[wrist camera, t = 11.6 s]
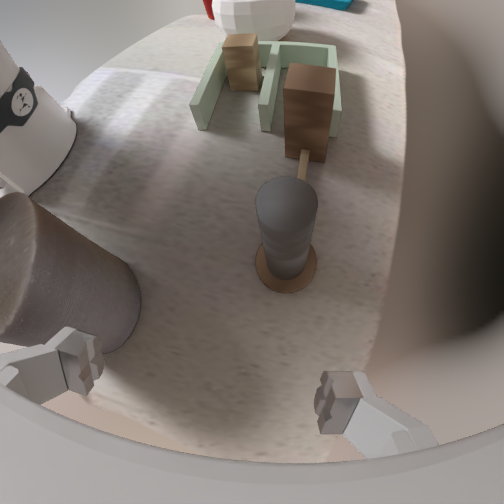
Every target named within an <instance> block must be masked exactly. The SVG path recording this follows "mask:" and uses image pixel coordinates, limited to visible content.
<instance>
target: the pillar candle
mask: <svg viewBox="0 0 504 504" xmlns="http://www.w3.org/2000/svg"><path fill="white" fill-rule="evenodd" d="M140 307H141V300H140V290H139V286H138V283H137V280H136V278H135V276H134V274H133V273H132V271H131V270H130V269H129V268H128V265H127V264H126V263H125V262H124V261H122V260H121V259H120V258H118V257H116V256H114V255H113V254H111V253H109V252H108V251H106V250H104V249H103V248H101V247H100V246H98V245H97V244H95V243H94V242H92V241H90V240H89V239H87V238H86V237H84V236H83V235H82V234H80V233H79V232H77V231H76V230H74V229H73V228H72V227H70V226H68V225H67V224H66V223H64V222H63V221H61V220H60V219H58V218H57V217H56V216H54V215H53V214H51V213H50V212H49V211H47V210H46V209H45V208H43V207H41V206H40V205H39V204H37V203H36V202H35V201H33V200H32V199H31V198H29V197H28V196H27V195H25V194H23V193H20V192H13V193H9V194H6V195H4V196H3V197H1V198H0V342H3V343H10V344H15V345H20V346H27V347H31V346H35V345H39V344H43V345H45V344H46V343H47V342H48V341H49V340H50V339H51V338H53V337H54V336H55V335H56V334H57V333H58V332H59V331H60V330H62V329H63V328H64V327H71V328H75V329H77V330H81V331H84V332H87V333H91V334H94V335H97V336H99V337H100V338H101V341H102V347H101V349H100V351H101V353H109V352H112V351H114V350H116V349H118V348H119V347H121V346H122V345H123V344H124V342H125V341H126V339H127V338H128V337H129V336H130V334H131V332H132V331H133V329H134V327H135V325H136V323H137V321H138V318H139V313H140Z"/></svg>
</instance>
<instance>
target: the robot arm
mask: <svg viewBox="0 0 504 504" xmlns="http://www.w3.org/2000/svg"><path fill="white" fill-rule="evenodd" d="M75 136H76V124H75V122H74V121H73V120H72V119H71V111H70V109H69V108H68V107H63V108H62V107H61V106H60V105H59V104H58V103H57V102H56V101H55V100H54V99H53V97H52V96H51V95H50V94H49V93H48V92H47V91H46V90H45V89H44V88H43V87H41V86H36V87H35V86H34V81H33V80H32V79H31V78H30V75H29V74H28V72H26V71H25V70H24V69H23V68H22V67H18V66H17V64H16V63H15V61H14V60H13V58H12V57H11V56H10V54H9V53H8V51H7V50H6V48H5V47H4V46H3V44H2V43H1V41H0V198H1V197H3V196H4V195H6V194H9V193H13V192H20V193H23V194H25V195H27V196H29V195H30V194H31V193H32V192H33V191H34V190H36V189H37V188H38V187H40V186H41V185H42V184H43V183H44V182H45V181H46V180H47V179H48V178H49V177H50V176H51V175H52V174H53V173H54V172H55V171H56V169H57V168H58V167H59V166H60V164H61V163H62V162H63V160H64V159H65V157H66V156H67V154H68V152H69V150H70V148H71V146H72V144H73V142H74V139H75ZM101 347H102V341H101V338H100V337H99V336H97V335H94V334H91V333H87V332H84V331H81V330H77V329H75V328H71V327H64V328H63V329H62V330H60V331H59V332H58V333H57V334H56V335H55V336H54V337H53V338H51V339H50V340H49V341H48V342H47V343H46V344H45V345H43V344H39V345H35V346H31V347H27V348H23V349H19V350H15V351H11V352H7V353H3V354H0V504H504V424H502V425H499V426H497V427H494V428H492V429H489V430H487V431H484V432H481V433H478V434H476V435H472V436H469V437H466V438H463V439H460V440H457V441H453V442H450V443H446V444H443V445H439V444H438V443H437V441H436V439H435V437H434V435H433V434H432V432H431V430H430V429H429V427H428V426H427V425H426V424H424V423H422V422H421V421H419V420H417V419H416V418H414V417H412V416H411V415H409V414H407V413H405V412H404V411H402V410H401V409H399V408H398V407H396V406H394V405H393V404H391V403H390V402H388V401H386V400H385V399H383V398H381V397H377V395H376V393H375V391H374V389H373V388H372V385H371V383H370V382H369V380H368V378H367V376H366V374H365V372H363V371H324V372H323V374H322V376H321V379H320V381H321V384H322V385H321V386H320V387H319V388H318V389H317V390H316V394H315V398H314V409H315V413H316V414H317V415H319V418H318V421H317V422H318V427H319V431H320V434H343V436H344V437H345V438H346V439H347V440H348V441H349V442H350V443H351V444H352V445H353V446H354V447H355V448H356V449H357V450H358V451H359V452H360V453H361V454H362V455H363V456H364V457H365V458H366V459H363V460H354V461H342V462H327V463H267V462H252V461H240V460H231V459H222V458H215V457H208V456H201V455H195V454H189V453H184V452H179V451H174V450H169V449H165V448H160V447H156V446H152V445H148V444H144V443H141V442H136V441H133V440H130V439H126V438H123V437H120V436H117V435H114V434H110V433H107V432H104V431H102V430H98V429H96V428H93V427H90V426H87V425H85V424H82V423H80V422H77V421H75V420H72V419H70V418H68V417H65V416H63V415H60V414H58V413H56V412H54V411H52V410H50V409H47V408H45V407H43V406H41V405H40V404H43V403H45V402H46V401H48V400H50V399H52V398H54V397H56V396H58V395H60V394H62V393H64V392H66V391H68V390H71V391H73V392H76V393H79V394H82V395H85V396H87V395H88V393H89V392H90V391H91V389H92V388H93V386H94V382H93V381H94V380H96V379H99V378H100V376H101V375H102V373H103V369H104V356H103V354H102V353H101V351H100V349H101Z"/></svg>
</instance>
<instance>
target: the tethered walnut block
mask: <svg viewBox="0 0 504 504" xmlns="http://www.w3.org/2000/svg"><path fill="white" fill-rule="evenodd" d="M335 82H336V68H330V67H323V66H316V65H307V64H298V63H290V65H289V68H288V72H287V76H286V79H285V83H284V87H283V98H284V128H285V157H289V158H296V159H300V160H299V166H298V172H297V177H292V176H281V177H276V178H273V179H271V180H269V181H268V182H266V183H265V184H264V185H263V186H262V187H261V188H260V190H259V191H258V193H257V196H256V200H255V205H256V211H257V216H258V221H259V226H260V232H261V237H262V242H263V243H262V244H261V246H260V247H259V249H258V251H257V254H256V260H255V264H256V269H257V273H258V275H259V277H260V279H261V281H262V282H263V283H264V284H265V285H266V286H267V287H268V288H270V289H272V290H274V291H276V292H280V293H292V292H296V291H298V290H300V289H302V288H304V287H305V286H306V285H307V284H308V283H309V282H310V281H311V279H312V277H313V275H314V273H315V270H316V265H317V258H316V254H315V251H314V249H313V247H312V245H311V244H310V241H311V237H312V232H313V227H314V222H315V217H316V212H317V207H318V200H317V196H316V193H315V191H314V190H313V188H312V187H311V186H310V185H309V184H308V183H307V182H305V180H306V173H307V167H308V161H315V162H322V163H325V158H326V152H327V145H328V139H329V132H330V126H331V119H332V112H333V105H334V97H335Z"/></svg>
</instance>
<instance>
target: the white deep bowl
mask: <svg viewBox="0 0 504 504" xmlns="http://www.w3.org/2000/svg"><path fill="white" fill-rule="evenodd" d="M212 10H213V14H214V19H215V23H216V25H217V27H218V28H219V30H220V31H221V33H222V35H224V36H225V37H227V36H228V34H245V33H257V36H258V41H278V40H280V39H281V38H283V37H284V36H285V35H286V34H287V33H288V32H289V31H290V29H291V26H292V23H293V20H294V17H295V14H296V8H295V0H212Z"/></svg>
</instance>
